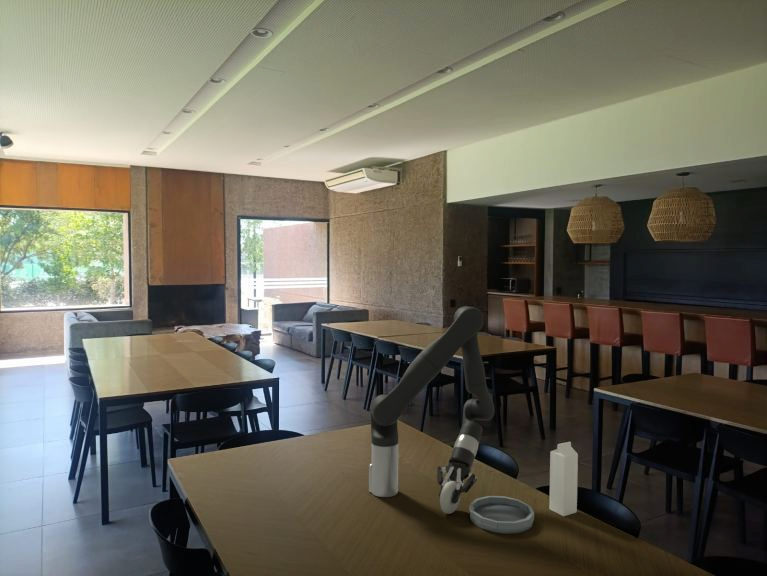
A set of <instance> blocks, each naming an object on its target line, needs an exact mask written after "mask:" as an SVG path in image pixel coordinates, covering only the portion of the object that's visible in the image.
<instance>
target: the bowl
mask: <svg viewBox="0 0 767 576" xmlns="http://www.w3.org/2000/svg"><path fill="white" fill-rule="evenodd" d="M469 516H470V517H469V518H470V521H471V522H472V523H473V524H474V525H475V526H477V527H479V528H480V529H483V530H484V529H485V530H484V531H487V532H491V533H497V534H502V535H503V534H504V535H505V534H506V535H507V534H508V535H509V534H510V535H511V534H513V535H514V534H519V533H523V532H527V531H528V530H530V529H531V528H532V527H533V524H534V521H535V512H534V510H533V507H532V506H531V505H529V504H528V503H526V502H524V501H522V500H521V499H517V498H513V497H508V496H506V495H505V496H504V495H503V496H502V495H488V496H487V495H486V496H482V497H478V498H475V499H474V500H473V501H472V502H471V503H469Z"/></svg>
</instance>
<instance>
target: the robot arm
mask: <svg viewBox="0 0 767 576" xmlns="http://www.w3.org/2000/svg"><path fill="white" fill-rule="evenodd" d="M484 319H485V317H484V315H483V313H482V311H481V310H479V308H477V307H473V306H466V305H465V306H461V307H459V308H458V309H457V310H456V311H455V312H454V314H453V322H452V324H451V325H449V327H448V329H447V330H445V332H444V333H443V334H442V335H441V336H439V337H438V338H436V339H435V340H434V341H432V342H431V343H430V344H428V345H427V346H426V347H424V348H423V350H421V351H420V353H418V355H417V356H416V357H415V358H414V359H413V360H412V361H411V363H410V364H409V366H408V367H407V368H406V370H405V372H404V373H403V375H402V377H401V379H400V380H399V382H398V383H397V385H396V386H394V388H393V389H392V390H391V391H390V392H388V394H386V393H385V394H379V395H377V396H376V397H375V398H374V399H373V400H372V403H371V407H370V434H371V435H370V437H371V463H370V464H369V465H368V492H369V493H371V494H372V495H373V496H376V497H380V498H390V497H394V496H396V495H397V494H398V493H399V431H398V430H399V429H398V420H399V418H400V417H401V416H402V415H403V413H404V412H405V410H406V409H407V407H408V406H409V405H410V403H412V401H413V400H414V399H415V398H416V397H417V396H418V395H419V394H420V393H421V392H422V391H424V389H426V387H427V386H428V385H429V384H430V382H431V381H432V380H434V379H435V378H436V377H437V376H438V375H439V373H440V372H441V371H442V370H443V369H444V368H445V367H446V365H447V364H448V363H449V362H450V361H451V360H452V358H453V357H454V356H455V354H456V353H457V352H458V351H459V350H460V349H461V353H462V354H461V356H462V365H463V371H464V372H463V373H464V380H465V389H466V391H467V392H468V393H469V394H472V395H474V396H476V397H477V398H470V399H468V400H466V402H464V405H463V407H462V408H463V409H462V411H463V414H462V424H461V428H460V431H459V433H458V434H459V435H458V436H457V438H456V440H455V442H454V445H453V447H452V450H451V451H452V452H451V454H450V457H449V460H448V462H447V464H446V465H445V466H441V465H438V466H437V468H436V469H437V470H436V474H437V475H436V477H437V480H436V481H437V484H438V485H439V487H440V490H439V493H438V497H439V498H440V495H441V491H442V489H443V487H444V485H445V484H446V483H447V482H449V481H454V482H456V483H457V485H456V490H455V491H454V494H453V497H452V500H451V501H452V503H453V504H456V502H458V500H459V497H460V498H461V494H462V493H464V494H466V493H468V492H469V491H470V489H472V487H473V486H474V484H475V483H476V482H477V480H478V478H477V476H476V475H475V474H474V473H472V472H471V470H472V467H473V465H474V462H475V461H474V460H475V459H476V455H477V454H478V453H477V452H478V450H479V444H480V440H481V438H482V436H483V435H482V434H483V430H484V429H483V427H482V425H480V424H479V423H478V422H475V421H476V420H477V421H491V420H492V419H493V418H494V416H495V403H494V402H493V399H492V396H491V394H490V391H489V389H488V386H487V381H486V380H487V379H486V371H485V365H484V362H483V359H482V355H481V351H480V346H479V340H478V339H479V338H478V333H479V331H480V330H481V329H482V327H483V325H484ZM445 473H446V475H445ZM444 475H445V477H444ZM466 479H467V480H466ZM465 480H466V481H465ZM464 481H465V482H464Z"/></svg>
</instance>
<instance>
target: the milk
mask: <svg viewBox="0 0 767 576" xmlns="http://www.w3.org/2000/svg"><path fill="white" fill-rule="evenodd" d="M556 445H557V446H556V449H554V450H551V451H550V452H549V453H550V455H549V456H550V458H549V464H550V466H549V507H548V508H549V510H550V511H552V512H554V513H556V514H558V515H560V516H562V517H566V516H569V515H572V514H576V513H577V511H578V509H577V507H578V504H577V503H578V473H579V472H578V468H579V466H578V463H579V462H578V459H579V454H578V452H577V451H576V450H575V449H574V448H573V446H572V441H567V442H562V443H558V444H556Z"/></svg>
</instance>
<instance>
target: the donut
mask: <svg viewBox="0 0 767 576" xmlns="http://www.w3.org/2000/svg"><path fill="white" fill-rule="evenodd" d="M456 485H457V482H456V481H449V482H447V483H446V484H445V485H444V487H443V489H442V491H441V495H440V497H439V506H440V510H441V511H442V512H443V513H444V514H447V515H450V514H452V513H453V514H454V513H455V511H456V510H457V508H458V507H459V504H460V501H461V496H460V497H459V500H458V502H456V504H453V503H452V501H451V500H452V497H453V494H454V491H455V490H456Z"/></svg>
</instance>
